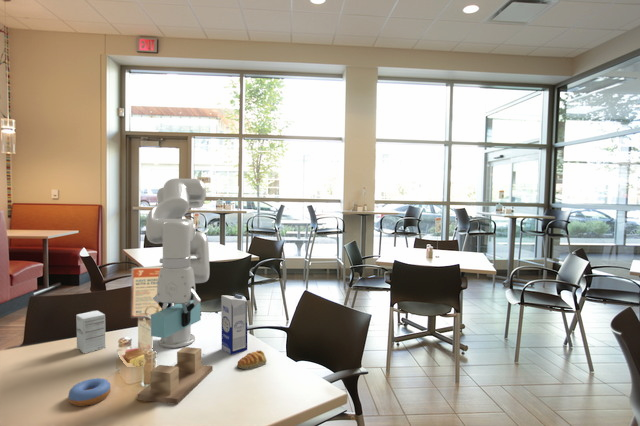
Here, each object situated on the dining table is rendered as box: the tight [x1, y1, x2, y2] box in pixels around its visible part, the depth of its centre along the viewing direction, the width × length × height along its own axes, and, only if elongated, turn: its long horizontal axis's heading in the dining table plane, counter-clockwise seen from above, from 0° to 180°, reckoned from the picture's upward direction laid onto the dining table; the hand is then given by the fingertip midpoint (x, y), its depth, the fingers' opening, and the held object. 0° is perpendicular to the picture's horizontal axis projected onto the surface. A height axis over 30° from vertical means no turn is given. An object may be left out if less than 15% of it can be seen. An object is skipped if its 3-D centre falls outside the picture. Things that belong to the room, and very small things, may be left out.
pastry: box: [236, 350, 268, 370], centre depth 125 cm, size 9×7×4 cm
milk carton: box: [220, 294, 248, 355], centre depth 137 cm, size 7×7×20 cm
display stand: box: [137, 346, 214, 405], centre depth 112 cm, size 12×20×8 cm, turn 169°
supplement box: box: [75, 310, 107, 354], centre depth 137 cm, size 7×7×13 cm
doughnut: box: [67, 377, 112, 407], centre depth 104 cm, size 10×10×5 cm
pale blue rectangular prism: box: [150, 300, 202, 339], centre depth 111 cm, size 4×16×6 cm, turn 162°
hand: (177, 324), depth 111 cm, fingers closed on pale blue rectangular prism, 4 cm apart
